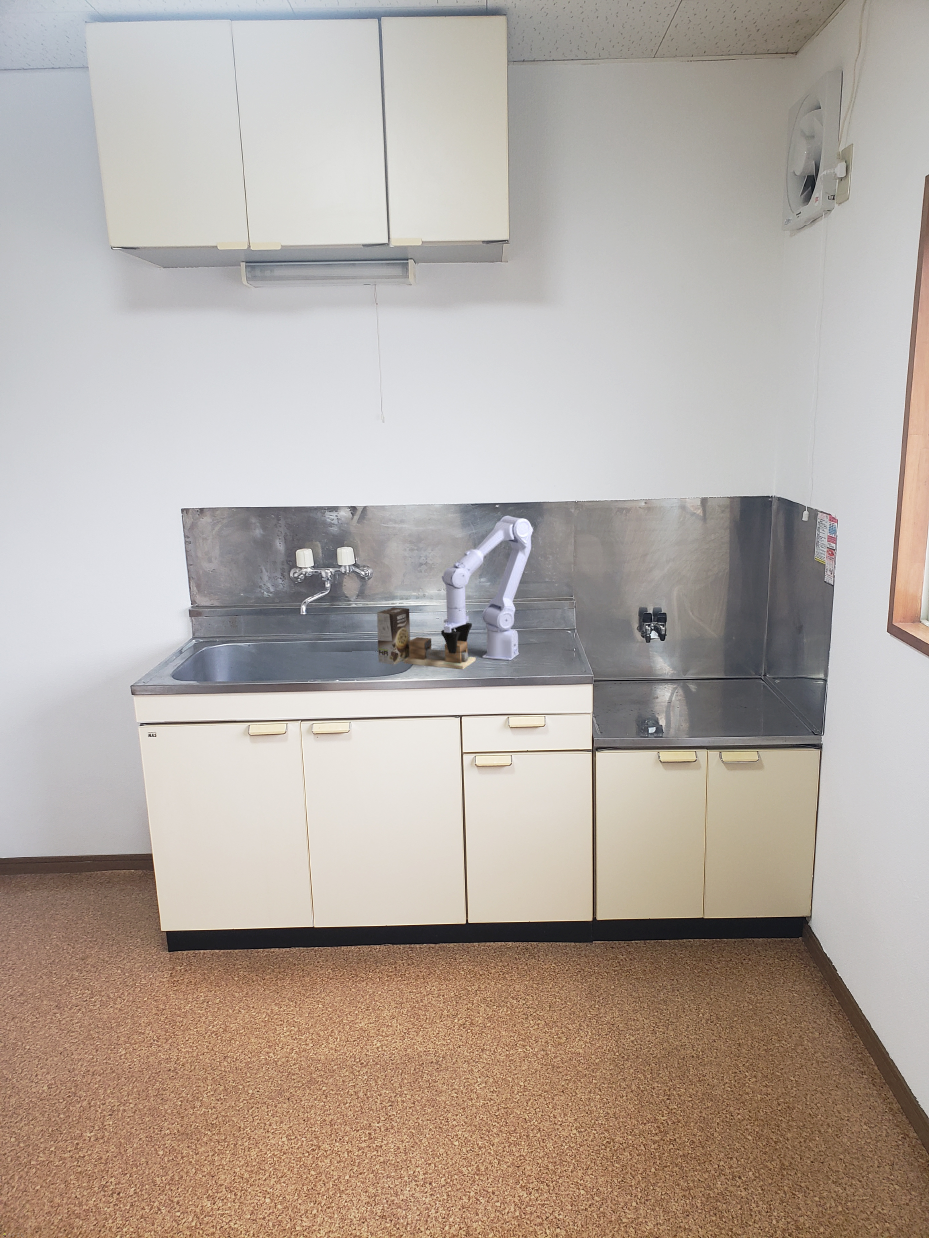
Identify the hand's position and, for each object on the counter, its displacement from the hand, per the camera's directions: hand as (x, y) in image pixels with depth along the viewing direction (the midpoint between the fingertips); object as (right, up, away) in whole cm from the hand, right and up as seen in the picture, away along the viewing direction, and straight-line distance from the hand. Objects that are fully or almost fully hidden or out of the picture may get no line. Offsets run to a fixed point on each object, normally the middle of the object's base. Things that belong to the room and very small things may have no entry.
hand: (457, 649), depth 271 cm
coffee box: (-20, -4, +6) cm, 21 cm away
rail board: (-6, -4, +3) cm, 8 cm away
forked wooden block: (0, -3, +1) cm, 3 cm away
